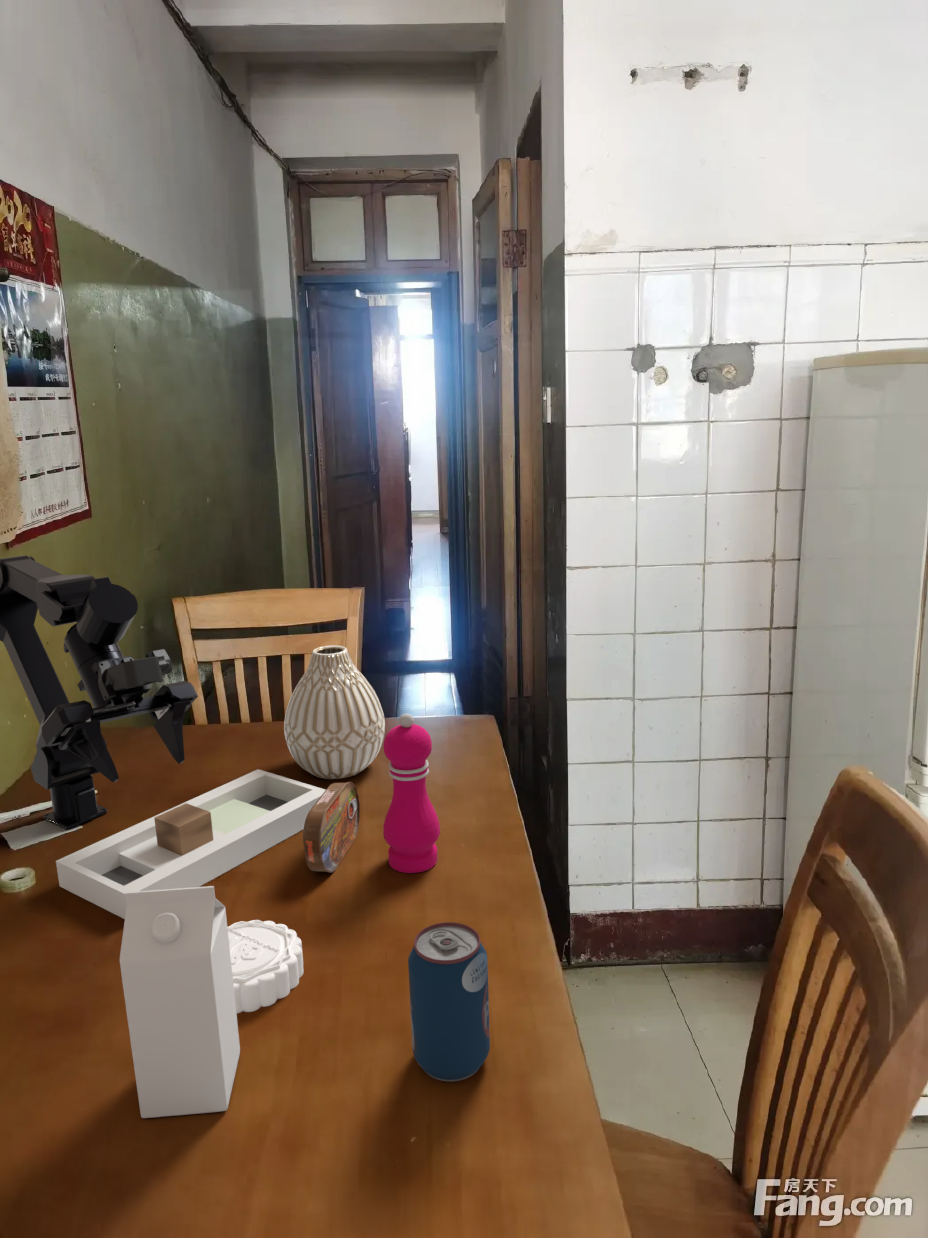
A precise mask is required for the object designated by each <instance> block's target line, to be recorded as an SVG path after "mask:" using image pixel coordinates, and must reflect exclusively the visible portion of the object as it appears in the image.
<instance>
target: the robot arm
mask: <svg viewBox="0 0 928 1238" xmlns="http://www.w3.org/2000/svg"><path fill="white" fill-rule="evenodd" d="M138 603H139V602H138V599H137V598H136V595H135V594H133V593H132V592H131V591H130V590H128V589H127V588H125V587H123V586H122V585H119V584H115V583H112V581H111V579H110V577H109V576H103V577H97V578H95V576H93V575H91V574H90V575H89V574H67V575H66V574H62V573H59V572H58V571H55V570H53V569H52V568H50V567H47V566H46V565H44V564H42V563H39V562H37V561H36V559H35V558H34V557H33V556H31V555H30V556H28V555H25V554H24V555H17V556H11V557H10V556H9V557H3V558H0V641H1V642H2V643H3V646H4V647H5V649H6V651H7V653H8V656H9V658H10V661H11V663H12V665H13V668H14V670H15V672H16V674H17V676H18V678H19V680H20V683H21V685H22V687H23V689H24V692H25V694H26V697H27V699H28V701H29V702H30V706H31V707H32V710H33V713H34V715H35V717H36V720H37V721H38V723H39V729H38V732H37V737H36V743H35V748H36V753H35V755H34V758H33V760H32V763H31V767H30V770H31V773H32V776H33V780H34V782H35V783H36V784H38V785H39V786H41V787H42V788H44V789H45V790H49V792H50V798H51V799H50V800H51V806H52V811H50V812H48V813H45V814H44V815H43V819H44V820H46V819H48V820H51V821H54V822H55V823H57V824H59V825H61V826H60V827H62V826H64V827H66V828H65V829H67V828H68V829H71V827H72V826H74V827H76V826H79V825H81V824H84V823H85V822H87V821H90V820H92V819H94V818H97V817H100V816H101V815H104V814H106V813H108V808H107V807H104V806H102V805H99V804H97V795H96V790H95V784H94V779H93V778H94V777H93V775H96V774H98V773H100V774H101V775H103V776H104V777H105V778H106V779H108V780H109V781H110V782H112V783H116V782H117V781H118V780H119V779H120V776H119V773H118V770H117V768H116V765H115V763H114V760H113V758H112V756H111V754H110V752H109V750H108V748H107V747H108V745H107V740H106V739H105V738H104V736H103V734H102V728H101V724H104V723H108V722H112V721H117V720H121V719H126V718H131V717H134V716H140V715H145V714H149V716H150V718H152V719H153V720H155V723H154V724H153V725H152V726H153V727H154V729H155V731H156V733H158V736H159V737H160V739H161V741H162V743H163V744H164V745H165V747H166V749H167V751H168V752H169V753H170V755H171V757H172V758H173V759H174V760H175V761H176V763H177V764H178V765H179V764H180V765H181V764H182V763H184V762H185V746H184V731H183V730H184V729H183V728H184V727H183V725H184V720H183V719H184V716H185V712H187V710H189V709H190V708H191V706H192V704H193V702H195V700H197V698H198V697H199V695H198V693H197V691H196V689H195V687H194V685H193V684H192V683H191V682H190V681H188V680H183V681H182V680H181V681H176V682H171V683H166V684H162V686H161V687H160V688H159V689H158V690H157V692H155V694H154V695H152V696H148V697H143V695H144V694H147V693H148V692H149V691H150V690H151V686H150V685H151V684H154V683H163V682H164V681H165V679H164V676H165V675H169V674H171V673H172V671H173V665H172V664H173V663H172V660H171V658H170V656H169V655H168V653H167V651H166V650H165V649H164V648H162V649H157V650H152V651H150V652H146V654H145V657H143V658H139V659H134V658H133V657H132V656H131V655H129V656H124V654H123V652H122V649H121V647H120V645H119V642H120V641H121V640H122V639H123V637H124V636H125V634H126V632H127V631H128V629H129V627H130V626H131V624H132V622H133V620H134V619H135V616H136V615H137V612H138V608H139V605H138ZM37 614H39V616H40V617H41V618H42V619H43V620H44V621H46V622H47V624H49V625H51V627H58V626H59V627H60V626H64V625H69V624H73V625H72V626H71V627H70V628H69V629H68V631H66V634H65V637H64V638H63V639H64V640H63V641H64V643H63V652H64V653H65V654H68V653H69V655H70V657H71V659H72V661H73V665H74V666H75V668H76V671H77V672H78V674H79V676H80V680H79V682H78V683H77V688H78V689H79V691H80V692H84V691H85V692H87V695H88V697H89V700H90V702H89V701H87V700H80V701H79V700H78V701H74V702H73V701H72V702H70V700H69V697H68V696H67V693H66V692H65V689H64V686H63V685H62V683H61V681H60V679H59V677H58V674H57V673H56V670H55V668H54V666H53V663H52V661H51V659H50V656H49V654H48V652H47V650H46V648H45V646H44V643H43V642H42V640H41V637H40V635H39V633H38V631H37V628H36V626H35V623H36V617H37ZM74 623H75V624H74ZM48 820H47V821H48ZM55 823H54V824H55ZM57 824H56V825H57ZM59 825H58V826H59ZM64 827H63V828H64ZM72 828H73V827H72Z"/></svg>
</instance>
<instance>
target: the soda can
mask: <svg viewBox="0 0 928 1238" xmlns="http://www.w3.org/2000/svg"><path fill="white" fill-rule="evenodd" d="M488 960H489V959H488V954H487V950H486V949H485V947H484V945H483V943H482V942H481V938H480V935H479V933H478V932H477V930H476V929H474V928H472V927H471V926H469V925H466V924H464V923H460V922H454V921H453V922H452V921H451V922H450V921H449V922H448V921H446V922H439V923H437V922H436V923H434V924H431V925H429V926H426V927H424V928H423V929H422V930H420V931H419V932H418V933H417V935H416V936H415V938H414V941H413V947H412V949H411V951H410V953H409V955H408V959H407V965H408V967H407V968H408V984H409V986H408V987H409V1007H410V1008H409V1009H410V1026H411V1027H410V1029H411V1046H412V1047H411V1049H412V1055H413V1057H414V1059H415V1061H416V1062H417V1064H418V1065H419V1066H420V1068H421V1069H422V1070H423V1071H424V1072H425V1073H426V1074H427V1075H428V1076H429V1077H431V1078H433V1079H434V1080H438V1081H442V1082H452V1083H453V1082H459V1081H463V1080H466V1079H468V1078H470V1077H472V1076H473V1075H475V1074H476V1073H477V1072H478V1071H479V1069H481V1067H482V1066H483V1064H484V1062H485V1061H486V1060H487V1058H488V1055H489V1054H490V1053H489V1052H490V1047H491V1036H490V1034H491V1033H490V1031H491V1030H490V1002H489V1001H490V1000H489V969H488V967H489V965H488V963H489V962H488Z"/></svg>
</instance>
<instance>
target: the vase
mask: <svg viewBox="0 0 928 1238" xmlns="http://www.w3.org/2000/svg"><path fill="white" fill-rule="evenodd" d="M311 652H312V653H311V655H310V659H309V663H308V666H307V669H306V670H305V672H304V674H303V675H302V677H301V678H300V679H299V681H298V683H297V684H296V686H295V688H294V689H293V691H292V693H291V695H290V698H289V700H288V703H287V707H286V710H285V715H284V720H283V721H284V722H283V732H284V737H285V742H286V745H287V748H288V750H289V753H290V754H291V757H292V758H293V759H294V761H295V763H296V764H297V765H299V766H300V767H301V768H302V769H303V770H305V771H306V772H307V773H309V774H310V775H313V776H314V777H317V778H320V779H325V780H341V779H346V778H351V777H353V776H357V775H358V774H360V773H361V772H362V771H364V770H365V769H367V768H368V766H369V765H370V764H372V763H373V762H374V760H375V759H376V758H377V755H378V754H379V752H380V751H381V748H382V746H383V743H384V739H385V732H386V731H385V730H386V721H385V714H384V711H383V707H382V704H381V702H380V699H379V696H378V695H377V693H376V690H375V689H374V687H373V686H372V685H371V684H370V682H369V681H368V679H367V678H366V677H365V676H364V675H363V674H362V672H360V671H359V669H358V668H357V667H356V665H355V664H354V662H353V660H352V658H351V656H350V653H349V651H348V648H347V647H345V646H343V645H323V646H319V647H316V648H314V649H313V650H312V651H311Z"/></svg>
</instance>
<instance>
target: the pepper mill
mask: <svg viewBox="0 0 928 1238" xmlns="http://www.w3.org/2000/svg"><path fill="white" fill-rule="evenodd" d="M398 722H399V724H398V725H395V726H394V727H393V728H391V729H390V730H389V731H388V732H387V733H386V735H385V736H384V739H383V753H384V756H385V757H386V758H387V760H388V761H389V763H388V768H389V771H388V775H389V777H391V778H392V783H393V784H392V785H393V786H392V787H393V789H392V790H393V791H392V792H393V793H392V796H391V797H392V798H391V801H390V805H389V808H388V809H387V812H386V814H385V816H384V821H383V830H382V833H383V838H384V840H385V843H386V844H387V845H389V848H388V850H387V851H388V852H387V853H388V865H389V866H390V867H391V869H393V870H394V871H396V872H400V873H405V874H416V873H417V874H418V873H423V872H425V871H428V870H431V869H432V868H433V867H435V865H436V864H437V862H438V847H437V844H436V842H437V841H438V839H439V837H440V834H441V826H440V825H441V824H440V821H439V816H438V814H437V812H436V810H435V807H434V805H433V804H432V802H431V800H430V797H429V794H428V790H427V784H426V783H427V782H426V781H427V776H428V775H429V773H430V769H429V765H430V764H429V761H428V760H427V759H428V757H430V755H431V754H432V750H433V743H432V742H433V741H432V739H431V736H430V734H429V732H428V731H427V730H426V729H425V728H424V727H422V726H421V725H419V724H414V722H415V720H414V717H413V715H412V714H410V713H403V714H401V716H400V717H399V721H398Z"/></svg>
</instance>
